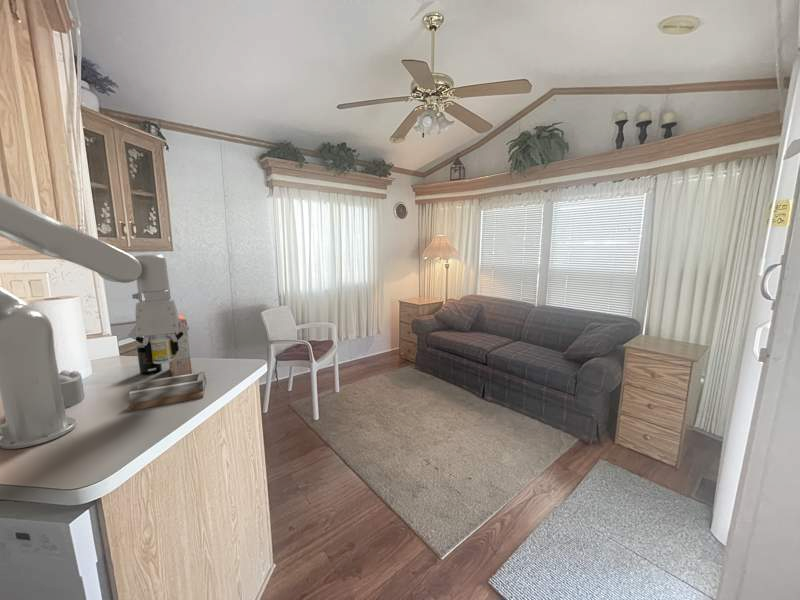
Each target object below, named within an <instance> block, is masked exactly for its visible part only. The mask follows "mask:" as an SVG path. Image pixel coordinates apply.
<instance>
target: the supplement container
mask: <svg viewBox="0 0 800 600" xmlns="http://www.w3.org/2000/svg"><path fill="white" fill-rule="evenodd" d="M135 348H136V356H137V361H138V369H139V373H140V375H144V376H148V375H154V374H157V373H160V372H162V369H163V365H162V364H163V363H162V364H155V363H153V359H152V358H148V355H146V354H145V347H144V346H143V345H142V344H141V343H140V344H139V345H136V347H135Z"/></svg>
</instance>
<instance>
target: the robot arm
mask: <svg viewBox="0 0 800 600" xmlns="http://www.w3.org/2000/svg"><path fill="white" fill-rule="evenodd" d="M0 237H2V238H4V239H7V240H9V241H12V242H14V243H16V244H19V245H21V246H23V247H25V248H27V249H30V250H32V251H35V252H37V253H40V254H43V255H45V256H48V257H51V258H55V259H61V260H64V261H67V262H70V263H73V264H76V265H78V266H80V267H83V268H86V269H89V270H90V271H93V272H95V273H97V274H98V275H99V276H100V277H101V278H102V279H103V280H106V281H109V282H113V283H121V284H129V283H132V282H135V281H136V285H137V293H132V295H131V296H132V299H133V300H135V299H136V300H138V302H136V303H135V326H134V327H133V328H132V329H131V331H130V332H129V333H128V335H127V336H128V337H129V338H131V339H133V340H135V341H136V342H138V343H139V344H140V345H141V344H142V345H143V346H144V347H145V354H146V355H148V358H152V352H151V345H150V340H151V339H152V338H151V337H153V336H156V335H165V334H169V335H170V337H171V338H172V343H171V346H172V353H173V355H176V353H177V351H179V346H178V340H179V339H180V338H181V337H182V336H183V335H184V334H185V333H186V332H187V331H188V332H189V330H190V327H189V326H188V325H187V326H186V325H185V324H184V323H183V322H181V321H180V320H179V317H178V314H179V313H178V309H177V306H176V303H175V300H174V299H172V298H171V289H170V282H169V274H168V266H167V260H166V258H165V256H163V255H162V254H140V255H136V256H135V255H131V254H129V253H127V252H125V251H123V250H121V249H119V248H117V247H115V246H114V245H111V244H110V243H107V242H105V241H102V239H101V240H100V239H98V238H96V237H93V236H92V235H89V234H87V233H84V232H83V231H80V230H78V229H76V228H74V227H72V226H70V225H67V224H65V223H63V222H61V221H59V220H56V219H54V218H52V217H50V216H49V215H47V214H44V213H42V212H40V211H38V210H36V209H34V208H33V207H30V206H28V205H26V204H24V203H22V202H20V201H18V200H16V199H14V198H12V197H10V196H8V195H7V194H5V193H2V192H0ZM180 327H181V328H182V331H180V332H179V333H178V334H177V333H176V332H177V331H178V330H179V328H180ZM54 341H55V339H54V330H53V326H52V322H51V321H50V319H49V318H48V316H47V315H46V314H44V313H43V312H42V311H40V310H38V309H36V308H35V307H34V306H31V305H30V304H28V303H26V302H25V301H24V300H22V299H20V298H19V297H17V296H15V295H14V294H12V293H11V292H9V291H7V290H6V289H5V288H3V287H2V286H0V398H1V403H2V408H3V413H4V417H5V422H4V424H0V437H2V438H0V448H1V449H4V450H14V449H15V450H16V449H17V450H18V449H22V448H27V447H32V446H36V445H41V444H44V443H46V442H50V441H52V440H55V439H57V438H59V437H61V436H64V435H66V434H68V433H69V432H71V431H72V430H73V429H75V427H76V426H77V420H76V418H73V417H67V413H66V407H64V401H63V396H62V390H61V384H60V379H59V369H58V364H57V357H56V350H55V342H54Z"/></svg>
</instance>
